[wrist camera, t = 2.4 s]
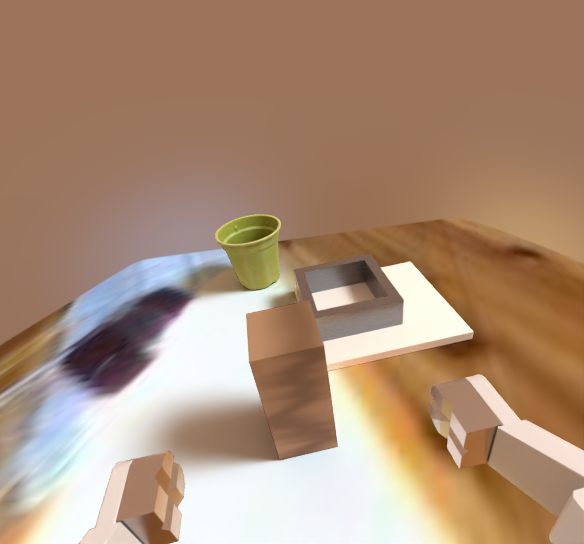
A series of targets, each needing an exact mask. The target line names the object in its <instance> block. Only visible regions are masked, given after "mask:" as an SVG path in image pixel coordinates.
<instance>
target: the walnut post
mask: <svg viewBox="0 0 584 544" xmlns="http://www.w3.org/2000/svg"><path fill="white" fill-rule="evenodd" d="M246 318H247V335H248V351H249V363H250V366H251V369H252V373H253V376H254V379H255V382H256V385H257V389H258V392H259V395H260V398H261V401H262V405H263V408H264V411H265V414H266V417H267V421H268V424H269V427H270V430H271V433H272V437H273V440H274V443H275V446H276V449H277V453H278V456H279V459H280V460H284V459H288V458H292V457H296V456H300V455H305V454H309V453H313V452H317V451H321V450H326V449H330V448H334V447H338V445H337V437H336V430H335V422H334V415H333V407H332V400H331V393H330V385H329V378H328V370H327V363H326V356H325V348H324V343H323V340H322V337H321V334H320V331H319V328H318V325H317V322H316V319H315V316H314V313H313V310H312V307H311V304H310V301H304V302H300V303H295V304H290V305H286V306H281V307H276V308H272V309H267V310H262V311H258V312H253V313H248V314H246Z"/></svg>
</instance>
